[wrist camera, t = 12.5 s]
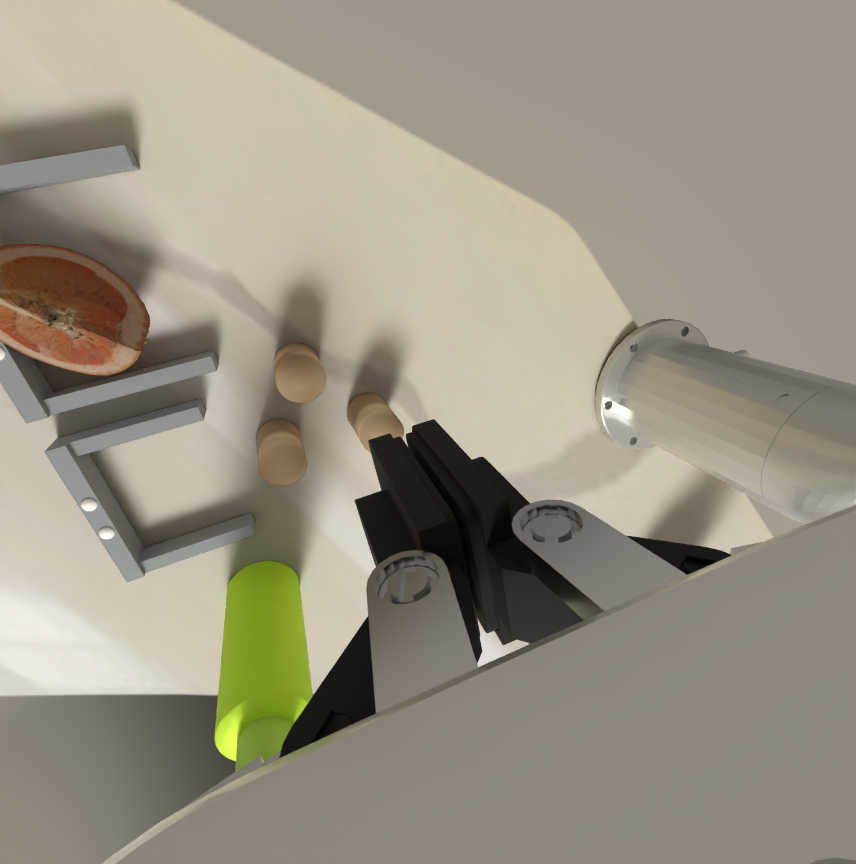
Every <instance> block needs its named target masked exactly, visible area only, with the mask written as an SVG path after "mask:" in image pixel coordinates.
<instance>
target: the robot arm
mask: <svg viewBox="0 0 856 864" xmlns="http://www.w3.org/2000/svg"><path fill="white" fill-rule="evenodd" d="M595 408H596V414H597V419H598V421H599V424H600V426H601V428H602V429H603V431H604V432H605V433H606V435H607V436H608V437H610V438H611V439H612V440H613V441H615V442H617V443H619V444H621V445H622V446H625V447H628V448H633V449H643V448H649V447H653V446H655V445H656V446H658V447H660V448H662V449H664V450H665V451H667V452H669V453H671V454H673V455H675V456H676V457H678V458H680V459H682V460H684V461H686V462H688V463H689V464H691V465H693V466H695V467H697V468H699V469H700V470H702V471H704V472H706V473H708V474H710V475H711V476H713V477H715V478H717V479H719V480H721V481H723V482H724V483H726V484H728V485H730V486H732V487H734V488H735V489H737V490H739V491H741V492H743V493H745V494H746V495H748V496H750V497H752V498H754V499H756V500H758V501H759V502H761V503H763V504H765V505H767V506H769V507H770V508H772V509H774V510H776V511H778V512H780V513H782V514H784V515H786V516H787V517H790V518H792V519H794V520H796V521H798V522H801V523H804V524H805V525H803V526H800V527H798V528H796V529H793V530H791V531H789V532H786V533H784V534H781V535H779V536H777V537H774V538H772V539H769V540H767V541H764V542H760V543H755V544H751V545H746V546H741V547H736V548H731V551H730V554H728V553H726V552H723V551H720V550H716V549H712V548H708V547H701V546H694V545H687V544H680V543H673V542H666V541H659V540H652V539H646V538H639V537H632V536H625V535H624V534H622V533H621V532H619V531H618V530H616V529H614V528H613V527H611V526H610V525H608V524H607V523H605V522H603V521H602V520H600V519H599V518H597V517H596V516H594V515H592V514H591V513H589V512H588V511H586V510H585V509H583V508H581V507H580V506H577V505H575V504H573V503H571V502H566V501H562V500H543V501H537V502H534V503H531V504H530V503H529V502H528V501H527V500H526V499H525V498H524V497H523V496H522V495H521V494H520V493H519V492H518V491H517V490H516V489H515V488H514V487H513V486H512V485H511V484H510V483H509V482H508V481H507V480H506V479H505V478H504V477H503V476H502V475H501V474H500V473H499V472H498V471H497V470H496V469H495V468H494V467H493V466H492V465H491V464H490V463H489V462H488V461H487V460H486V459H485V458H484V457H479V458H476V459H473V460H471V458H470V457H469V456H468V455H467V454H466V453H465V452H464V451H463V450H462V449H461V448H460V447H459V445H458V444H457V443H456V442H455V441H454V440H453V439H452V438H451V437H450V436H449V435H448V434H447V433H446V431H445V430H444V429H443V428H442V427H441V426H440V425H439V424H438V423H437V422H436V421H435V420H434V419H433V420H430V421H426V422H423V423H420V424H417V425H414V426H412V432H411V433H408V434H406V440H407V444H408V447H407V445H406V444H405V442H404V441H403V439H402V438H401V437H400V436H399V437H395V438H393V437H392V435H391V434H390V433H389V434H386V435H382V436H379V437H376V438H373V439H370V440H368V443H369V447H370V451H371V454H372V458H373V462H374V465H375V469H376V472H377V476H378V480H379V483H380V487H381V490H382V491H380V492H377V493H374V494H371V495H368V496H365V497H362V498H359V499H356V500H355V503H356V506H357V510H358V513H359V516H360V519H361V522H362V526H363V529H364V532H365V535H366V538H367V541H368V544H369V547H370V550H371V553H372V556H373V559H374V562H375V565H376V568H375V569H374V570H373V571H372V573H371V575H370V577H369V579H368V581H367V589H366V591H367V604H368V617H367V618H366V620H365V621H364V623H363V624H362V626H361V627H360V628H359V630H358V631H357V633H356V634H355V636H354V637H353V639H352V640H351V642H350V643H349V644H348V646H347V647H346V649H345V650H344V652H343V653H342V655H341V656H340V657H339V659H338V660H337V662H336V663H335V665H334V666H333V668H332V669H331V671H330V672H329V673H328V675H327V676H326V678H325V679H324V681H323V682H322V684H321V685H320V686H319V688H318V689H317V691H316V692H315V694H314V695H313V697H312V698H311V700H310V701H309V702H308V704H307V705H306V707H305V708H304V710H303V711H302V713H301V714H300V715H299V717H298V718H297V720H296V721H295V723H294V724H293V726H292V727H291V729H290V731H289V733H288V735H287V736H286V738H285V740H284V742H283V745H282V749H281V751H279V752H278V753H276V754H275V755H273V756H272V757H270V758H269V759H268V760H266V761H265V762H264V761H263V759H262V757H261V756H258V757H257V758H255V759H254V760H253V761H251V762H250V763H248V764H247V765H245V766H244V767H242V768H241V769H239V770H238V771H236V772H235V773H233V774H232V775H231V776H229V777H228V778H226V779H225V780H223V781H222V782H220V783H219V784H217V785H216V786H214V787H213V788H211V789H210V790H208V791H207V792H206V793H204V794H203V795H201V796H200V797H198V798H197V799H195V800H194V801H193V802H191V803H189V804H188V805H186V806H185V807H183V808H182V809H181V810H179V811H178V812H176V813H175V814H173V815H171V816H170V817H168V818H166V819H165V820H163V821H161V822H159V823H158V824H157V825H155V826H154V827H152V828H151V829H149V830H148V831H147V832H145V833H144V834H143V835H141V836H140V837H138V838H137V839H135V840H134V841H132V842H131V843H129V844H128V845H127V846H125V847H124V848H122V849H121V850H120V851H118V852H117V853H115V854H114V855H112V856H111V857H110V858H108V859H107V860H106V861H105V862H104V863H102V864H856V385H854V384H850V383H846V382H842V381H839V380H834V379H831V378H827V377H823V376H819V375H816V374H812V373H808V372H804V371H800V370H796V369H793V368H789V367H785V366H780V365H777V364H773V363H770V362H765V361H762V360H758V359H754V358H750V355H749V353H748V352H747V351H745V350H740V351H738V352H735V353H731V352H727V351H723V350H720V349H716V348H711V347H709V345H708V343H707V341H706V339H705V337H704V335H703V334H702V333H701V332H700V331H699V329H697V328H696V327H694V326H693V325H691V324H689V323H686V322H683V321H678V320H672V319H662V320H657V321H653V322H650V323H647V324H645V325H643V326H641V327H639V328H637V329H636V330H635V331H633V332H632V333H631V334H629V335H628V336H627V337H626V338H625V339H624V340H623V341H622V342H621V343H620V344H619V345H618V346H617V347H616V348H615V350H614V351H613V353H612V354H611V355H610V357H609V358H608V360H607V362H606V364H605V366H604V368H603V370H602V372H601V375H600V378H599V381H598V384H597V390H596V395H595ZM477 618H478V620H479V622H480V623H481V625H482V627H483V629H484V630H485V632H486V633H489V632H492V631H495V633H496V634H497V636H498V638H499V639H500V641H501V643H502V644H503V645H505V644H507V643H510V642H512V641H514V640H516V639H517V640H520V641H524V642H528V645H527V646H525V647H523V648H521V649H518V650H516V651H514V652H512V653H509V654H507V655H505V656H503V657H500V658H498V659H496V660H494V661H492V662H489V663H487V664H485V665H483V666H480V667H478V666H477V663H478V660H479V658H480V656H481V653H482V647H481V642H480V631H479V626H478V621H477Z"/></svg>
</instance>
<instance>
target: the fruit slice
mask: <svg viewBox="0 0 856 864" xmlns="http://www.w3.org/2000/svg"><path fill="white" fill-rule="evenodd" d="M149 326H150V317H149V314H148V312H147V310H146V307H145V305H144V303H143V302H142V301H141V299H140V298H139V297H138V295H137V293H136V292H135V291H134V290H133V289H132V288H131V287H130V286H129V285H128V284H127V283H126V282H125V281H124V280H123V279H122V278H120V277H119V276H118V275H117V274H115V273H114V272H112V271H111V270H110V269H109V268H107V267H106V266H104V265H102V264H100V263H99V262H97V261H95V260H93V259H91V258H89V257H87V256H85V255H83V254H80V253H78V252H75V251H73V250H69V249H65V248H61V247H56V246H49V245H39V244H16V245H8V246H3V247H0V341H1V342H3V343H4V344H6V345H8V346H10V347H11V348H13V349H15V350H17V351H19V352H21V353H23V354H25V355H27V356H29V357H32V358H34V359H37V360H39V361H42V362H45V363H48V364H51V365H54V366H57V367H60V368H64V369H67V370H71V371H76V372H81V373H84V374H91V375H111V374H115V373H119V372H121V371H123V370H125V369H127V368H128V367H130V366H131V365H133V364H134V362H135V361H137V359H138V358H139V356H140V354H141V351H142V350H143V347H144V344H145V343H149V340H148V339H146V336H147V334H148V330H149Z"/></svg>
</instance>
